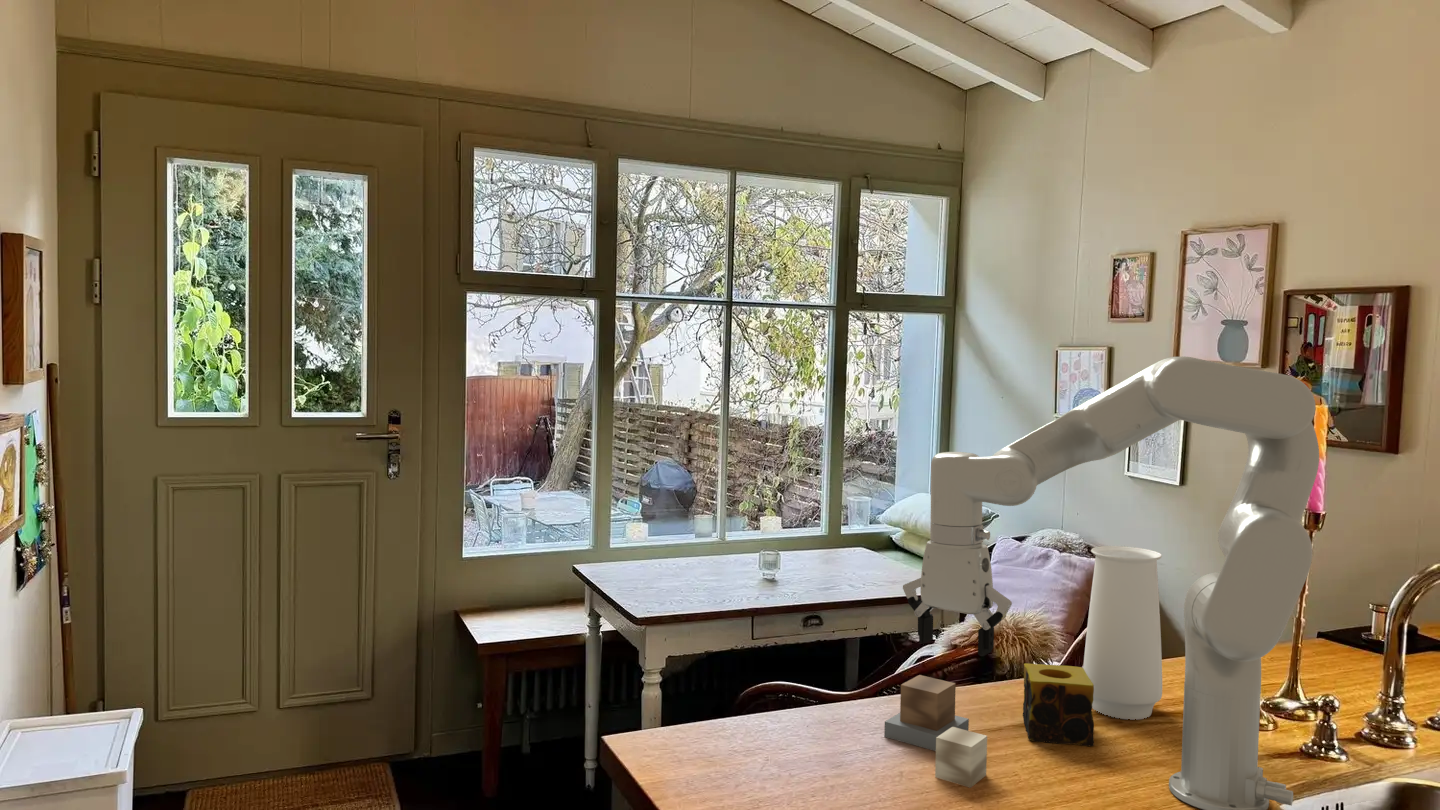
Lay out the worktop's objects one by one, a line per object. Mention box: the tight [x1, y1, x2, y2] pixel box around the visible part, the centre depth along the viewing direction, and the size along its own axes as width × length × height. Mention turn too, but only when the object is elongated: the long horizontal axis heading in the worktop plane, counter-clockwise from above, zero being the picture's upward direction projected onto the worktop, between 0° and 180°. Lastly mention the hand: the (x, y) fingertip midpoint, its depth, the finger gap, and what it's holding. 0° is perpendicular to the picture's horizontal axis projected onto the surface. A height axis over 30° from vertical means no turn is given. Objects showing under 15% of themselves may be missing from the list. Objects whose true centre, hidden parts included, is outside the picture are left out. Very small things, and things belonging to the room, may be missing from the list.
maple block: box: [934, 727, 988, 788], centre depth 144 cm, size 6×6×6 cm
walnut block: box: [899, 674, 957, 731], centre depth 159 cm, size 6×6×6 cm
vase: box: [1082, 545, 1163, 721], centre depth 172 cm, size 13×13×28 cm
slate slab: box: [883, 712, 970, 752], centre depth 159 cm, size 10×10×2 cm
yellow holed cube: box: [1022, 662, 1095, 747], centre depth 161 cm, size 10×10×10 cm
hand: (954, 647), depth 147 cm, fingers open, 9 cm apart
